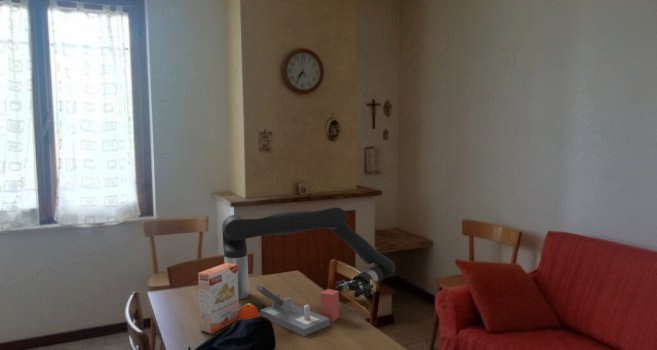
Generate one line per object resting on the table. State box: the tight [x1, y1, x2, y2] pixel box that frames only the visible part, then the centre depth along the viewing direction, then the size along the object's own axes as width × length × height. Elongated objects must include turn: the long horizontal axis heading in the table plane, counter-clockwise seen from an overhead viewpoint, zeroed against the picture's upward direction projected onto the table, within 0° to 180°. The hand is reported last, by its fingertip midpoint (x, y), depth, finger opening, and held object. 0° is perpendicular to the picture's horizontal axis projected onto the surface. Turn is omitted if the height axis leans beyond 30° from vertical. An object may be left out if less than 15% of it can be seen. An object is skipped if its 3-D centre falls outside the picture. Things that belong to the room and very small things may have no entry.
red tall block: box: [320, 288, 340, 323], centre depth 177 cm, size 5×5×10 cm
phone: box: [250, 302, 266, 313], centre depth 185 cm, size 7×1×15 cm
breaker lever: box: [255, 284, 283, 307], centre depth 177 cm, size 4×2×14 cm
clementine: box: [239, 302, 259, 321], centre depth 175 cm, size 8×7×7 cm
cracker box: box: [197, 262, 240, 335], centre depth 173 cm, size 14×6×21 cm, turn 148°
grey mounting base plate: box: [259, 292, 331, 337], centre depth 176 cm, size 24×12×8 cm, turn 45°
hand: (345, 293), depth 186 cm, fingers open, 8 cm apart
